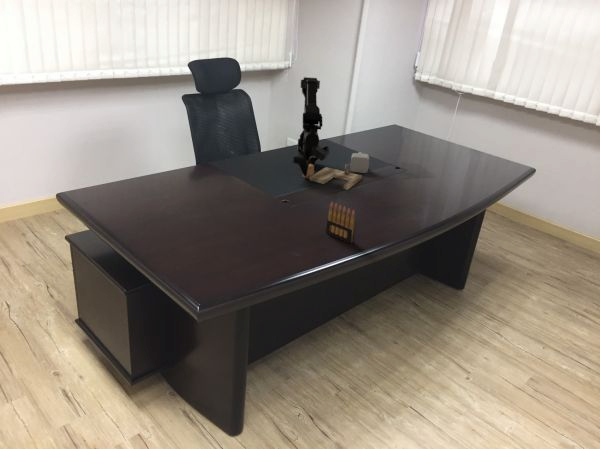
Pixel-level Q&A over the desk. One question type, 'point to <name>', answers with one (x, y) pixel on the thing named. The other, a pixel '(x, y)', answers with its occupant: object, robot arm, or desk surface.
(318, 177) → the pale wood u-shaped block
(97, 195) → the desk surface
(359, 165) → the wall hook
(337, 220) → the ammunition clip
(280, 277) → the desk surface
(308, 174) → the tan rounded cone
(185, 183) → the desk surface
